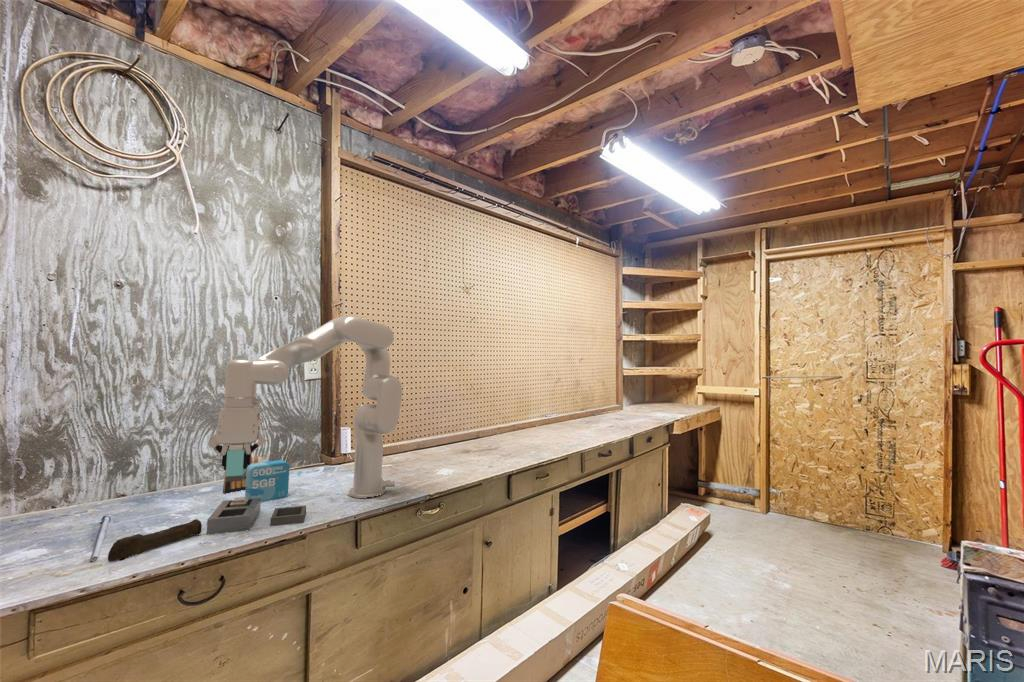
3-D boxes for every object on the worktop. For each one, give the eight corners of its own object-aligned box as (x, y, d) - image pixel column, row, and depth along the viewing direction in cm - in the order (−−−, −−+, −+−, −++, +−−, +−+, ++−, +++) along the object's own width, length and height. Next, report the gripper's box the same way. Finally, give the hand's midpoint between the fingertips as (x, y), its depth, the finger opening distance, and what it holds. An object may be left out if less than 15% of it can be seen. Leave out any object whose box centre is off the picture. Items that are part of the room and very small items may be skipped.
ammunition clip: (224, 493, 148) (226, 458, 148) (222, 492, 149) (224, 457, 149) (258, 487, 156) (260, 454, 156) (256, 486, 157) (258, 453, 157)
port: (260, 510, 133) (261, 493, 133) (249, 530, 118) (250, 510, 118) (222, 514, 129) (223, 496, 129) (206, 534, 114) (207, 514, 114)
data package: (248, 504, 138) (250, 466, 139) (244, 500, 141) (246, 464, 142) (288, 496, 146) (289, 461, 147) (283, 493, 150) (285, 459, 150)
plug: (245, 477, 123) (247, 442, 123) (242, 480, 119) (244, 444, 120) (228, 478, 121) (231, 442, 122) (225, 481, 118) (227, 445, 118)
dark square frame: (305, 512, 132) (306, 505, 132) (303, 522, 124) (303, 514, 124) (274, 515, 129) (275, 508, 129) (270, 526, 121) (270, 518, 121)
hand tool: (194, 532, 116) (195, 515, 116) (202, 535, 114) (203, 517, 114) (103, 560, 99) (104, 540, 100) (110, 564, 98) (111, 543, 98)
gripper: (275, 401, 128) (271, 463, 127) (208, 401, 122) (204, 466, 121) (271, 404, 121) (267, 469, 120) (200, 404, 115) (196, 473, 114)
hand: (236, 467), depth 121 cm, fingers closed on plug, 4 cm apart
